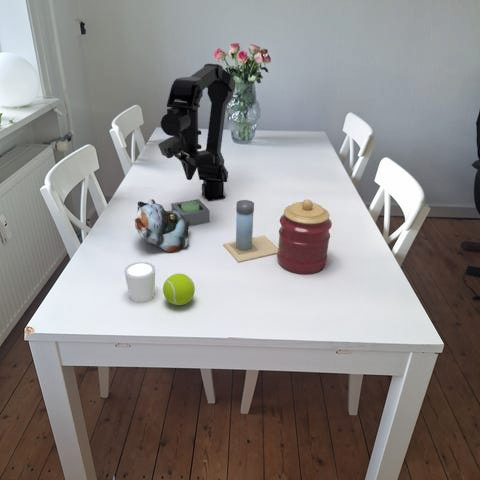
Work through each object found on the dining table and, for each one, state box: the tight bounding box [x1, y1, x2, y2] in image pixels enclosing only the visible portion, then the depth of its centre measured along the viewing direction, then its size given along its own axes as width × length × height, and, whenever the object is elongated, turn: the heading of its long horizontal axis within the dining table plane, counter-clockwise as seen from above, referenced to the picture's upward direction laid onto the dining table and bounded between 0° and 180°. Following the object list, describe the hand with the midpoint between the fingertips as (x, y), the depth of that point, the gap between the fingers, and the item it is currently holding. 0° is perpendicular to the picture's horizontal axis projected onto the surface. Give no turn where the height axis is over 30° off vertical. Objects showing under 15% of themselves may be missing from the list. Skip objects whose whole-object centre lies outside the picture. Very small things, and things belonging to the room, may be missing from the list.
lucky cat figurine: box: [133, 198, 190, 254], centre depth 126 cm, size 15×12×14 cm
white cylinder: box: [123, 261, 156, 303], centre depth 105 cm, size 7×7×7 cm
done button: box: [181, 200, 199, 213], centre depth 141 cm, size 5×5×4 cm
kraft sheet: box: [222, 234, 279, 264], centre depth 127 cm, size 13×10×1 cm
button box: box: [170, 198, 211, 227], centre depth 141 cm, size 9×9×4 cm
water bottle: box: [235, 199, 255, 251], centre depth 124 cm, size 5×5×13 cm
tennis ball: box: [162, 273, 196, 306], centre depth 103 cm, size 7×7×7 cm
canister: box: [276, 198, 333, 275], centre depth 117 cm, size 13×13×18 cm
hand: (189, 179), depth 136 cm, fingers closed
